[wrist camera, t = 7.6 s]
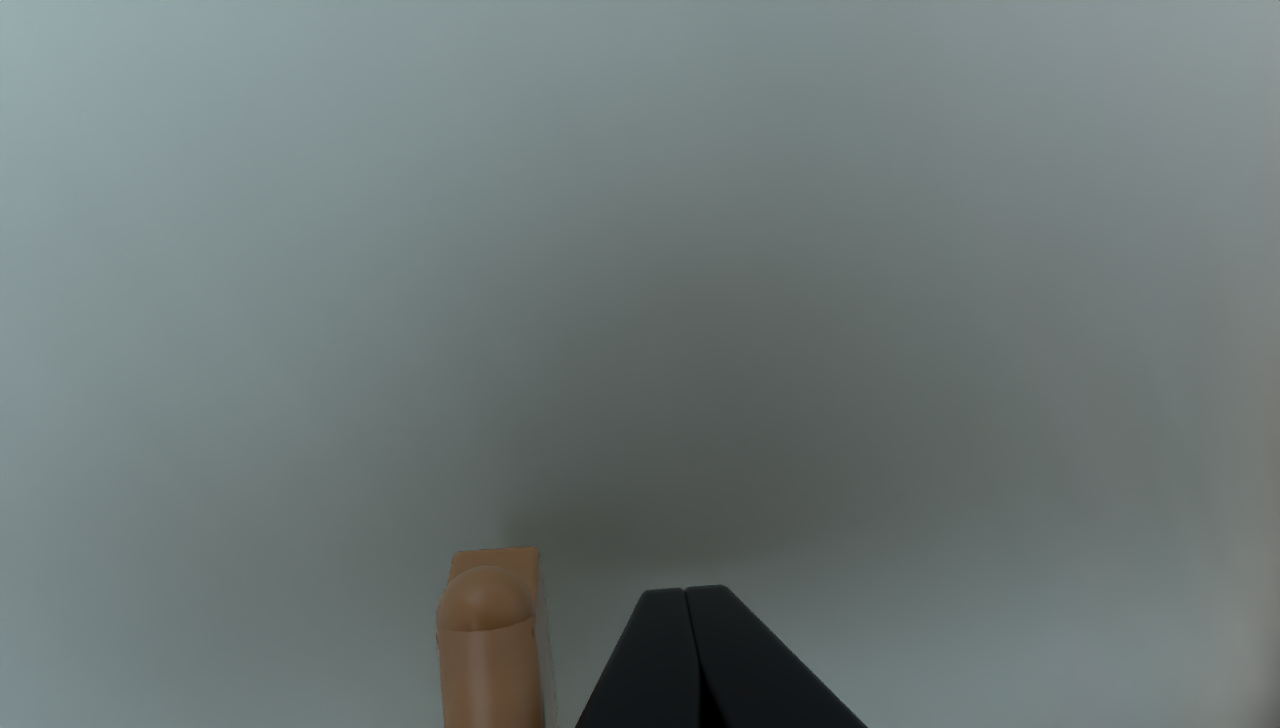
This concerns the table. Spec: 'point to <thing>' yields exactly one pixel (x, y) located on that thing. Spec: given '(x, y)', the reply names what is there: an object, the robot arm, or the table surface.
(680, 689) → the robot arm
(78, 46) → the table surface
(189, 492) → the table surface
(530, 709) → the hanger
